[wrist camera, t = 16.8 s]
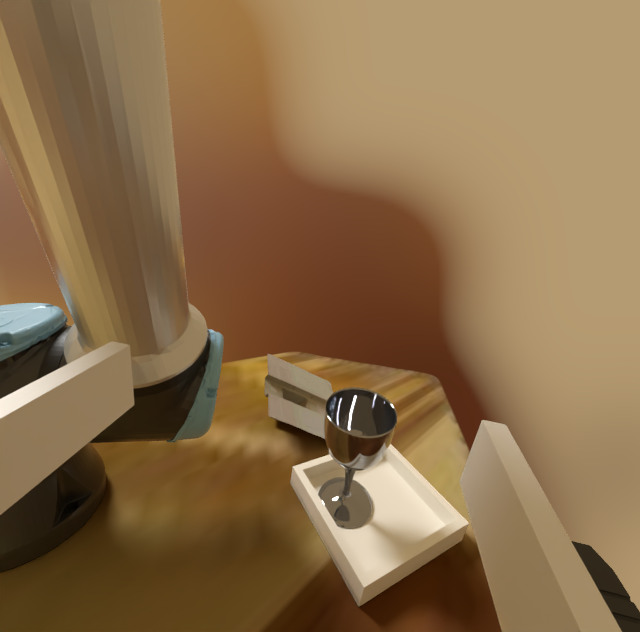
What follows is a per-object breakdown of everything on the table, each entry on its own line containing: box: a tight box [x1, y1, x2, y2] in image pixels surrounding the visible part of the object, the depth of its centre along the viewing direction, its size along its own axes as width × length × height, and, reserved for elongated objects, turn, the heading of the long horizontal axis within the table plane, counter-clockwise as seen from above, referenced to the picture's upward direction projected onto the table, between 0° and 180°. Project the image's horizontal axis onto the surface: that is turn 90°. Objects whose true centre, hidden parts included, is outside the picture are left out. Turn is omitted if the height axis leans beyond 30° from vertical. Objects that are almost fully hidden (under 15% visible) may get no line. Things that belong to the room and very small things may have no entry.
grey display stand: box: [264, 354, 333, 439], centre depth 58 cm, size 16×9×15 cm
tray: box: [290, 444, 469, 607], centre depth 42 cm, size 16×16×3 cm
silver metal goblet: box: [318, 387, 397, 529], centre depth 39 cm, size 8×8×15 cm
